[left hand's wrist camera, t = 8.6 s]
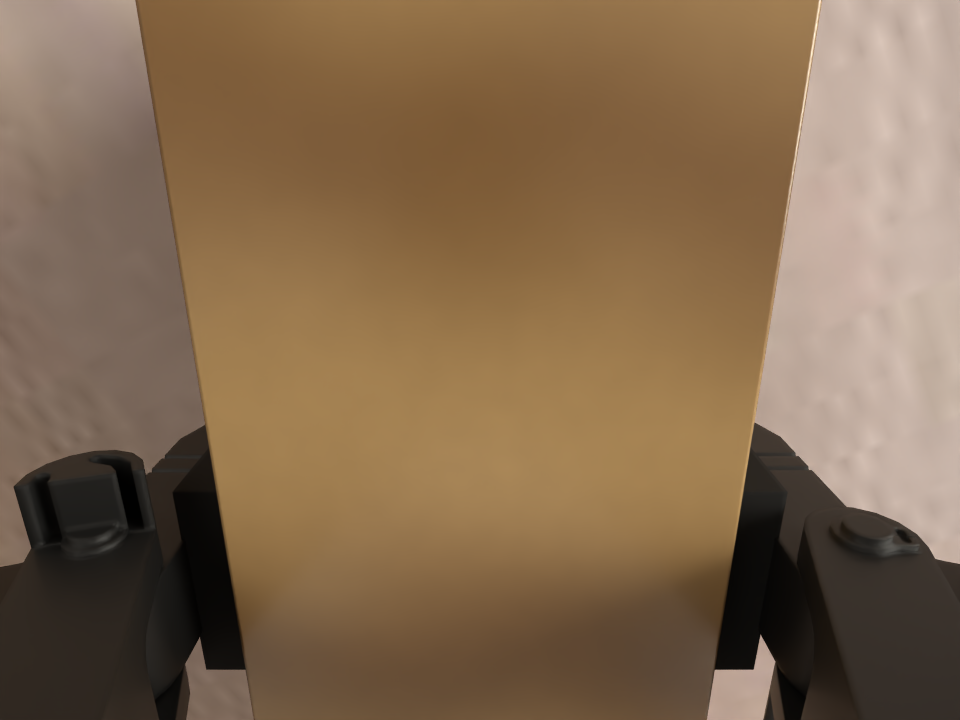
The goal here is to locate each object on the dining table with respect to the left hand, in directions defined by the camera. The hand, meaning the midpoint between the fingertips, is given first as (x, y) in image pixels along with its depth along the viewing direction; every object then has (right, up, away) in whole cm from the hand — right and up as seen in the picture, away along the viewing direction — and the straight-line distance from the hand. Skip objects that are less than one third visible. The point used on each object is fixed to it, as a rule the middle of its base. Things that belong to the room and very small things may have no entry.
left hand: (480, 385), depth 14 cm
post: (0, -21, +9) cm, 23 cm away
